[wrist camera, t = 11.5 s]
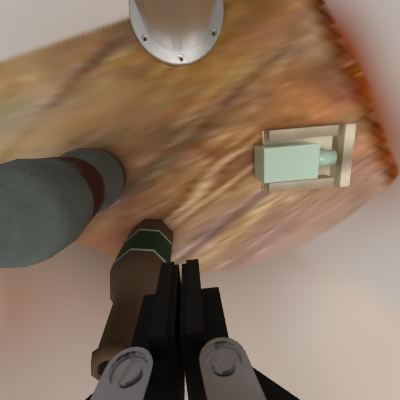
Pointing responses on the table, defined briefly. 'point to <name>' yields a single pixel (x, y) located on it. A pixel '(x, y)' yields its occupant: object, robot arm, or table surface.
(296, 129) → the cradle
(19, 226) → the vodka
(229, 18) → the table surface
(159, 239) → the beer bottle
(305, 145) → the bottle
